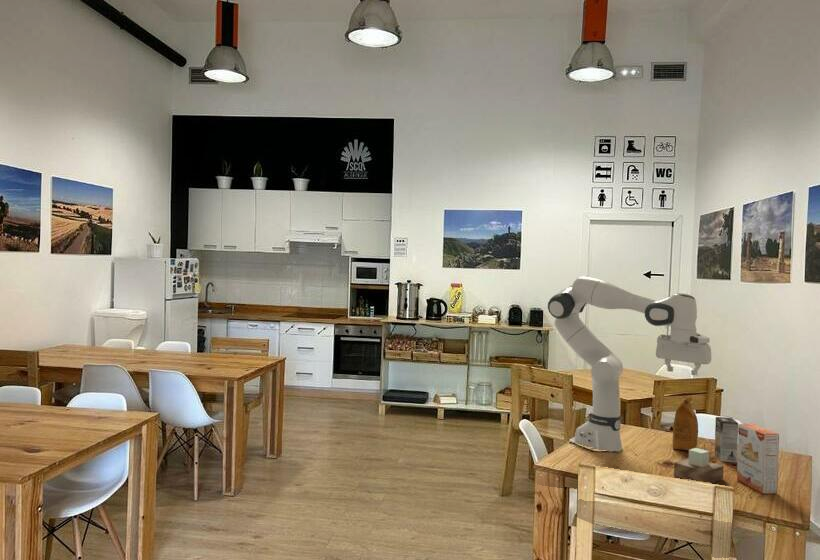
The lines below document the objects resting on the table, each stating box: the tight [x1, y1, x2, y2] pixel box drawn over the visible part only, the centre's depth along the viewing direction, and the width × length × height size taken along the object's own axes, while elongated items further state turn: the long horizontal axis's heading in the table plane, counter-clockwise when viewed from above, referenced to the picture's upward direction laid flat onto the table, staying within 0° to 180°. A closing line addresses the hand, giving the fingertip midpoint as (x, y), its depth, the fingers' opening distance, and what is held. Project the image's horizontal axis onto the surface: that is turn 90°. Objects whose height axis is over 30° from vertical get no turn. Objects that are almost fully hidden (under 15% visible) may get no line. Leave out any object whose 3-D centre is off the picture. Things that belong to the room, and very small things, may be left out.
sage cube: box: [688, 447, 710, 467], centre depth 219 cm, size 5×5×5 cm
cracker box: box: [736, 423, 780, 495], centre depth 211 cm, size 14×6×21 cm, turn 5°
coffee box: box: [714, 416, 739, 464], centre depth 244 cm, size 9×6×16 cm
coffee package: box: [671, 395, 699, 452], centre depth 257 cm, size 10×12×22 cm
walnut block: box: [673, 457, 724, 484], centre depth 219 cm, size 12×12×5 cm
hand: (682, 373), depth 226 cm, fingers open, 8 cm apart
